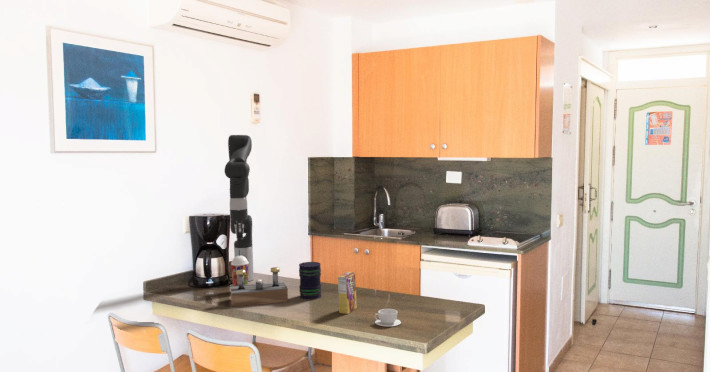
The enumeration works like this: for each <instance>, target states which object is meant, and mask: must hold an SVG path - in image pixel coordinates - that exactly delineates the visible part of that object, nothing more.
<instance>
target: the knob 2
mask: <svg viewBox="0 0 710 372" xmlns="http://www.w3.org/2000/svg"><path fill="white" fill-rule="evenodd" d="M280 269H281V268H280V267H278V266H275V267H274V266H273V267H270V272H271V273H272V283H273V287H277V286H278V282H279V273H280V272H281V270H280Z"/></svg>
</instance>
